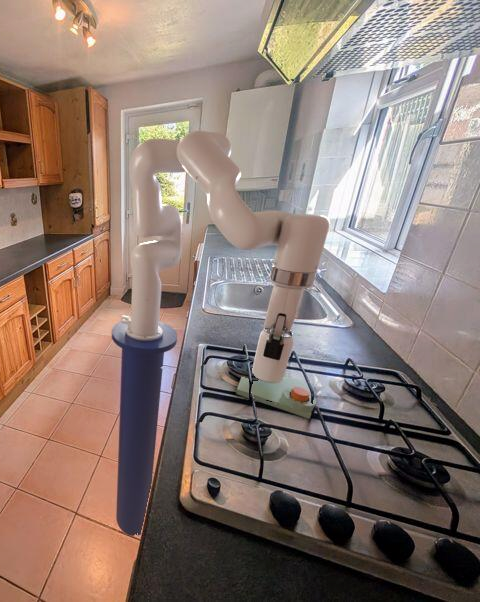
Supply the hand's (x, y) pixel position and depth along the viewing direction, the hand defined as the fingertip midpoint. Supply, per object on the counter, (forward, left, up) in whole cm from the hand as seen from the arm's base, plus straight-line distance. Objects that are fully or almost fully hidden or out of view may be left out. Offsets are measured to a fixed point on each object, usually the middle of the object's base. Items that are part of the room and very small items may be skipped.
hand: (273, 350), depth 69 cm
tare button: (+7, -5, -7) cm, 11 cm away
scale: (+2, -1, -10) cm, 10 cm away
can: (0, 0, -7) cm, 7 cm away
